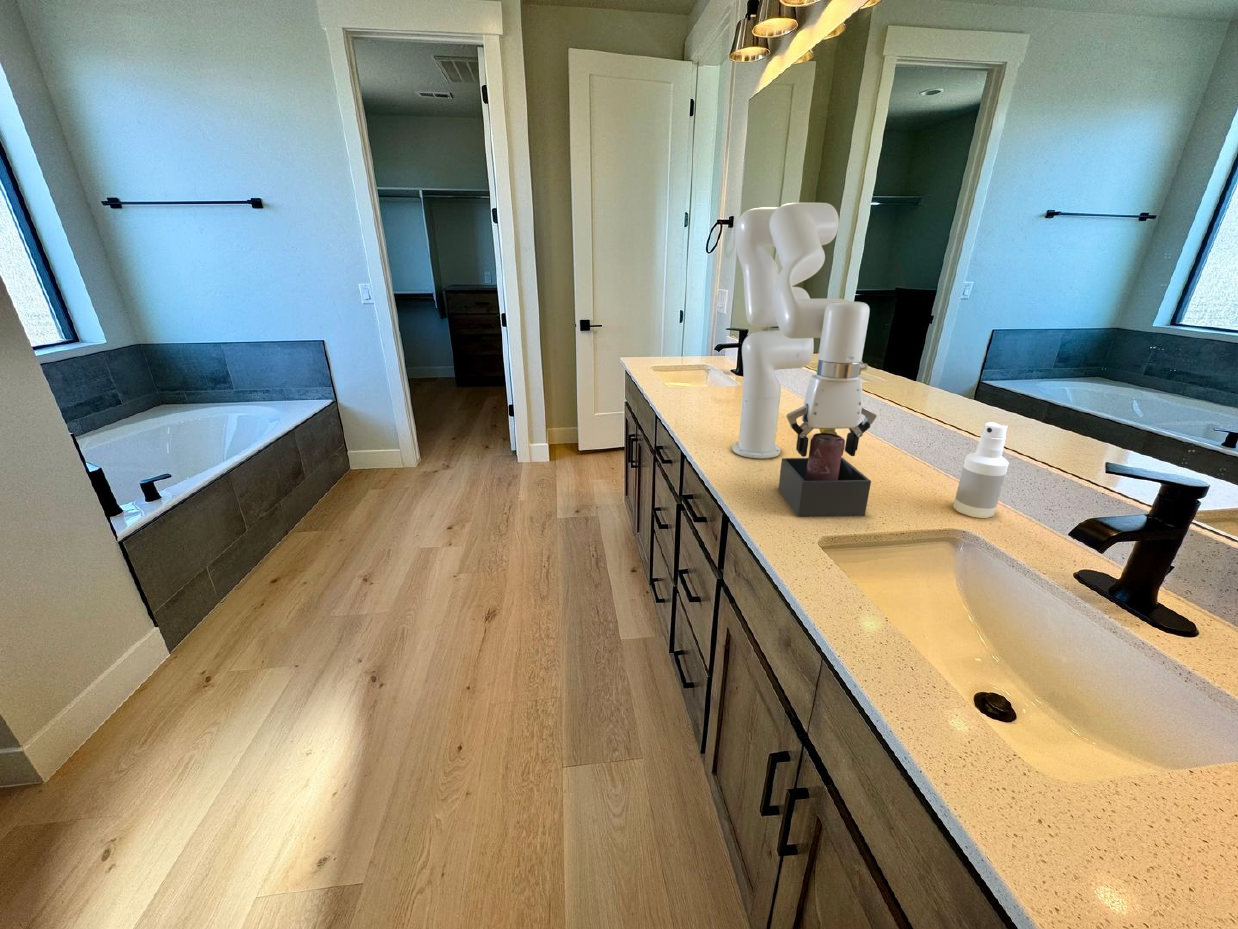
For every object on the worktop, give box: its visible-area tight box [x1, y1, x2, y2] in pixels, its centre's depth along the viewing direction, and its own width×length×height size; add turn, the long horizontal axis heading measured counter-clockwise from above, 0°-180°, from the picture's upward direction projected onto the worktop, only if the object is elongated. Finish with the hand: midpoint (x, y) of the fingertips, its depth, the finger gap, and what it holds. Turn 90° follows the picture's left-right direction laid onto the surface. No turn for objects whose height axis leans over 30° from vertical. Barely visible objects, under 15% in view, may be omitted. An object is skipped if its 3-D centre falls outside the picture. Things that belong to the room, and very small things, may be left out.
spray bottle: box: [952, 421, 1010, 519], centre depth 95 cm, size 7×7×18 cm
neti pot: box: [818, 429, 838, 435], centre depth 137 cm, size 4×15×6 cm, turn 0°
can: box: [805, 432, 846, 481], centre depth 101 cm, size 6×6×14 cm
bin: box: [778, 456, 872, 518], centre depth 102 cm, size 13×13×8 cm
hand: (825, 454), depth 100 cm, fingers open, 9 cm apart
